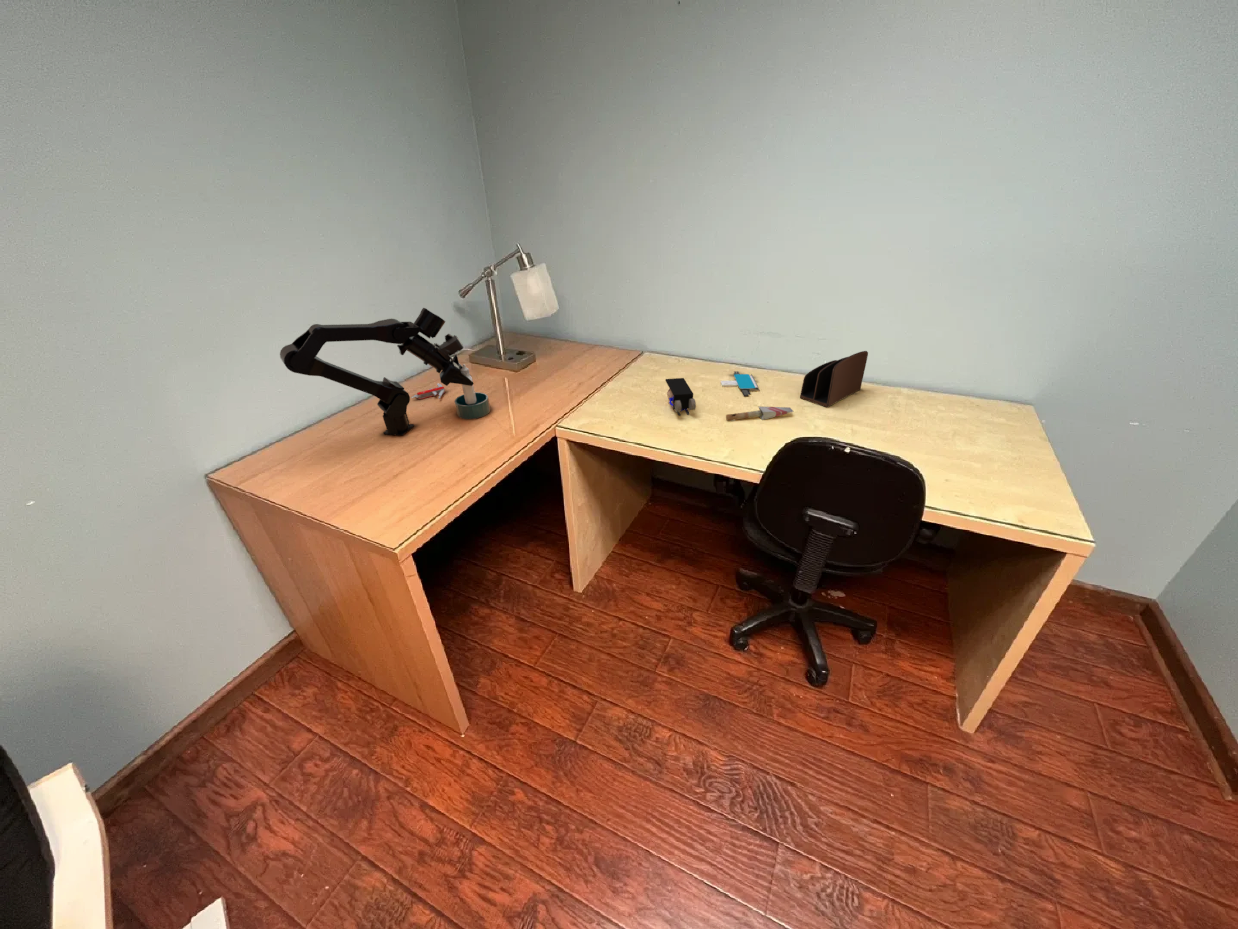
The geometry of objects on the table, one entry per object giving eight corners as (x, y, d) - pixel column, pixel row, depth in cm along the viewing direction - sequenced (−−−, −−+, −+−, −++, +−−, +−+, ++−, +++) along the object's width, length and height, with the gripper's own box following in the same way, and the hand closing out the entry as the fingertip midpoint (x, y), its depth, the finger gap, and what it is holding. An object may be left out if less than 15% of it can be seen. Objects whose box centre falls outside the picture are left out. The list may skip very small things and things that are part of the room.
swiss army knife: (417, 407, 160) (415, 402, 159) (407, 393, 170) (405, 388, 169) (451, 398, 165) (450, 393, 164) (440, 385, 175) (438, 380, 174)
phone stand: (717, 373, 176) (717, 369, 176) (750, 372, 176) (751, 368, 175) (725, 397, 160) (726, 392, 159) (762, 396, 159) (763, 391, 158)
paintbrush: (795, 407, 144) (728, 416, 143) (794, 416, 146) (728, 424, 145) (789, 402, 148) (724, 410, 146) (788, 410, 149) (724, 418, 148)
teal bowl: (481, 420, 151) (479, 407, 149) (451, 418, 153) (448, 404, 151) (495, 405, 159) (493, 393, 157) (466, 404, 161) (464, 391, 159)
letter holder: (860, 389, 161) (871, 348, 153) (827, 408, 150) (837, 364, 143) (832, 381, 168) (841, 340, 160) (798, 398, 157) (806, 355, 150)
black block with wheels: (696, 420, 149) (682, 395, 161) (698, 399, 144) (684, 375, 156) (675, 423, 148) (662, 397, 160) (676, 401, 144) (663, 377, 155)
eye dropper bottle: (481, 397, 156) (474, 361, 150) (473, 405, 151) (466, 368, 145) (468, 397, 157) (461, 361, 150) (460, 404, 152) (452, 367, 146)
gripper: (444, 338, 133) (491, 371, 142) (440, 320, 148) (483, 351, 157) (420, 370, 135) (468, 400, 144) (419, 349, 150) (463, 378, 159)
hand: (471, 381), depth 151 cm, fingers closed on eye dropper bottle, 5 cm apart
